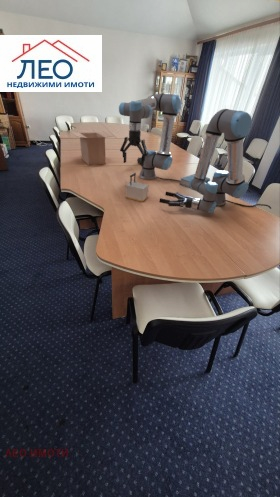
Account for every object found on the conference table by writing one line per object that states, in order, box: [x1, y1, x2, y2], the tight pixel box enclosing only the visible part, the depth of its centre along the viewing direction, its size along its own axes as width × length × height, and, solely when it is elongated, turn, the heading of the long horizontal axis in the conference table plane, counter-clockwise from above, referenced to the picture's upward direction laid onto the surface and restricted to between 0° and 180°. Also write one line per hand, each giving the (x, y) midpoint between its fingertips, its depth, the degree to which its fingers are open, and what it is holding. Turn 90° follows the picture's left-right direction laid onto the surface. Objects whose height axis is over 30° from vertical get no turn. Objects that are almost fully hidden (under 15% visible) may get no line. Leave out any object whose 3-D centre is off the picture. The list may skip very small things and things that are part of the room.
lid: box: [125, 172, 149, 190], centre depth 160 cm, size 14×10×8 cm
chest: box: [125, 185, 149, 203], centre depth 165 cm, size 14×10×9 cm
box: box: [70, 129, 114, 166], centre depth 229 cm, size 44×36×27 cm
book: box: [179, 173, 211, 189], centre depth 197 cm, size 23×16×5 cm
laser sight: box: [136, 154, 143, 165], centre depth 236 cm, size 10×22×10 cm, turn 78°
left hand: (133, 164), depth 154 cm, fingers open, 13 cm apart
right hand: (162, 196), depth 156 cm, fingers open, 13 cm apart
